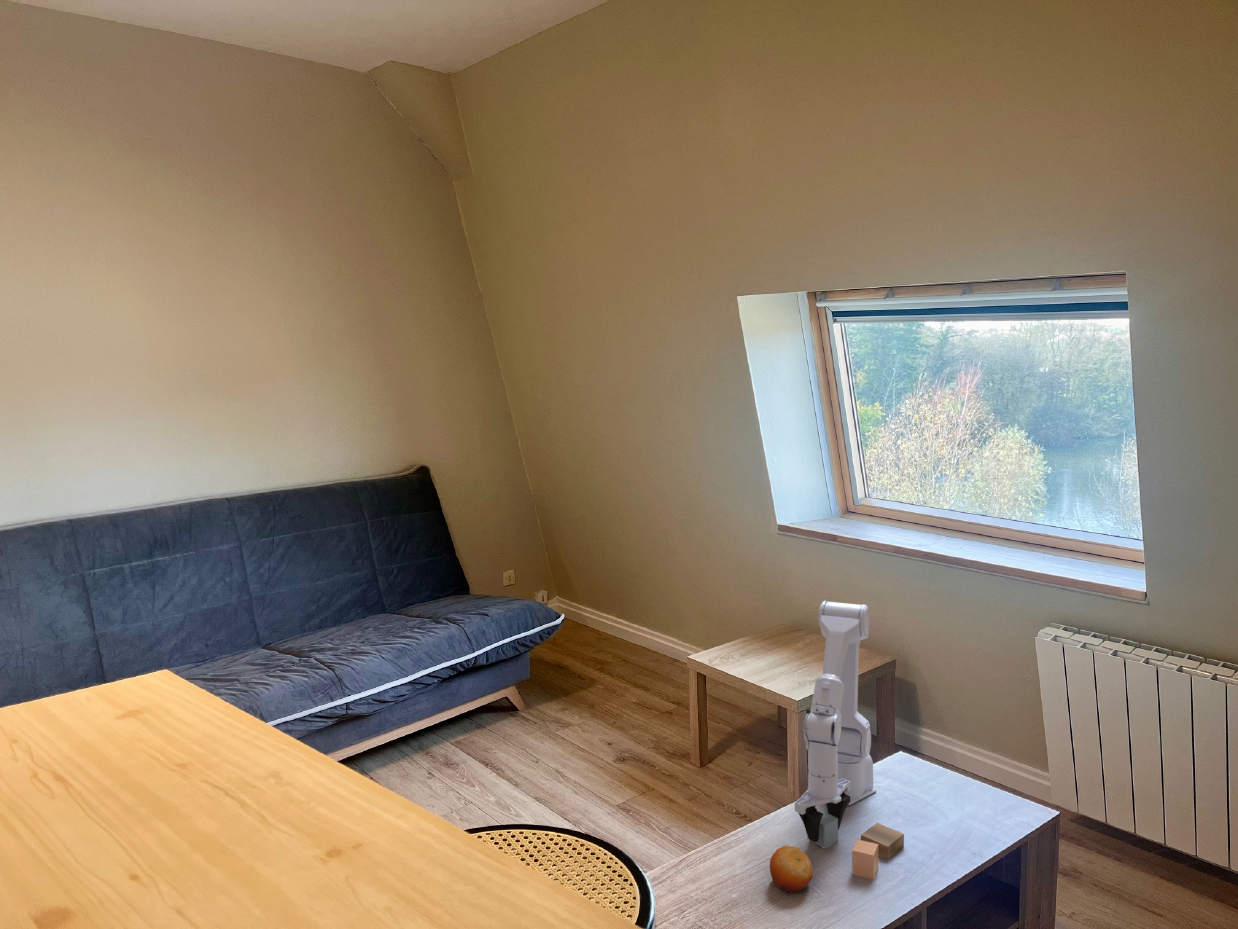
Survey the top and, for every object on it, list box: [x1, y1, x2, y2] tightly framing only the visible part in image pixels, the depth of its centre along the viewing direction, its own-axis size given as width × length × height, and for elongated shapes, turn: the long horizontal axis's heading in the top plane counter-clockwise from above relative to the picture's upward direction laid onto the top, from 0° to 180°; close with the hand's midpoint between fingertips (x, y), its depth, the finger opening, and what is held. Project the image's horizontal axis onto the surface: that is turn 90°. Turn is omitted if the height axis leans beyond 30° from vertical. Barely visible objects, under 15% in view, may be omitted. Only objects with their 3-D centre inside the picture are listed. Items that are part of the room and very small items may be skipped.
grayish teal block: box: [808, 810, 839, 849], centre depth 185 cm, size 4×4×5 cm
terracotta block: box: [851, 839, 879, 881], centre depth 174 cm, size 4×4×5 cm
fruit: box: [769, 845, 814, 894], centre depth 171 cm, size 8×8×8 cm
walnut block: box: [860, 822, 905, 860], centre depth 182 cm, size 6×6×3 cm
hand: (823, 834), depth 185 cm, fingers open, 6 cm apart
